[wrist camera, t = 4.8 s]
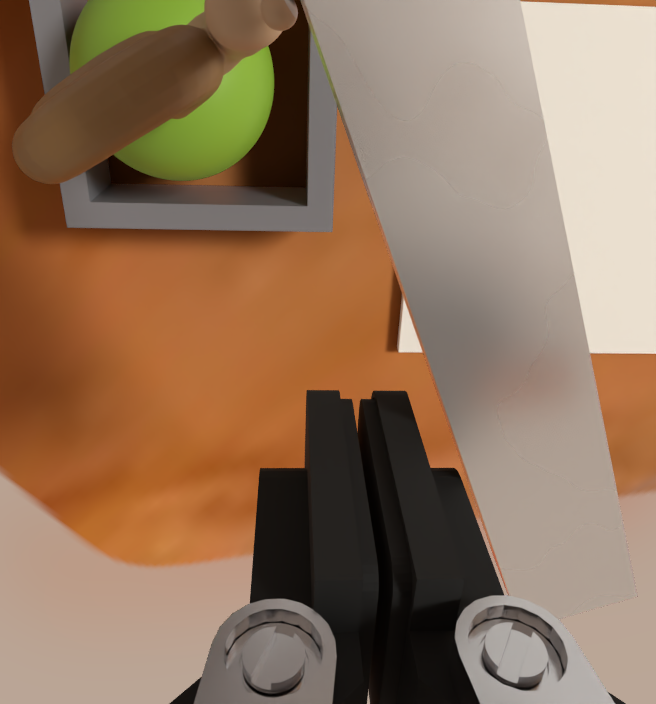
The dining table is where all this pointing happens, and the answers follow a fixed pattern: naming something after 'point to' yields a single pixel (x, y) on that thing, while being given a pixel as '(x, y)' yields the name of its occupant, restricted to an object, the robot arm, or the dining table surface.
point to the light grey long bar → (485, 276)
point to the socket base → (193, 200)
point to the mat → (599, 162)
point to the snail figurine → (158, 89)
